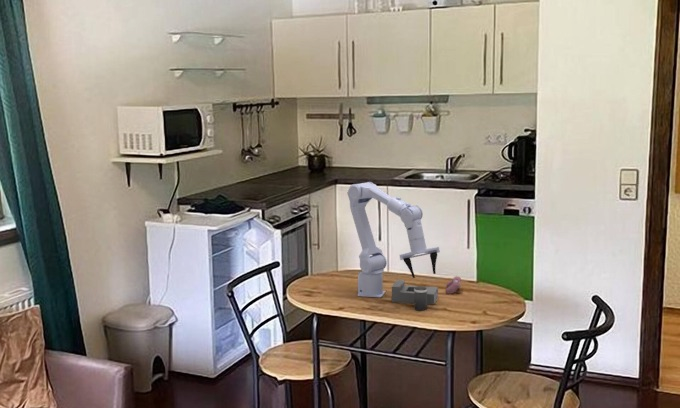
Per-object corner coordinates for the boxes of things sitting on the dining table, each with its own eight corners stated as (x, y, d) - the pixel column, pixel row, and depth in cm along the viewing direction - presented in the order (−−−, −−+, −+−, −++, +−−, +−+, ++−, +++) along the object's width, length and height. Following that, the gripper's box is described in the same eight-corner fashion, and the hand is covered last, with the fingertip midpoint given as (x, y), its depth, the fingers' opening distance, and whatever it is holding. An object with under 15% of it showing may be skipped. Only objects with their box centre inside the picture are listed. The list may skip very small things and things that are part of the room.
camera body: (391, 302, 263) (391, 286, 262) (397, 294, 272) (397, 279, 271) (434, 304, 258) (434, 289, 257) (437, 297, 268) (438, 282, 267)
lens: (413, 310, 252) (413, 289, 251) (415, 306, 257) (415, 285, 255) (426, 311, 251) (426, 290, 250) (428, 307, 255) (428, 286, 254)
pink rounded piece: (454, 298, 271) (463, 283, 270) (444, 293, 272) (452, 277, 270) (455, 291, 281) (463, 276, 279) (445, 286, 281) (453, 271, 280)
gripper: (397, 243, 251) (404, 280, 250) (436, 235, 250) (444, 272, 249) (396, 242, 258) (404, 278, 257) (435, 234, 257) (443, 271, 256)
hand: (424, 275), depth 254 cm, fingers open, 7 cm apart
